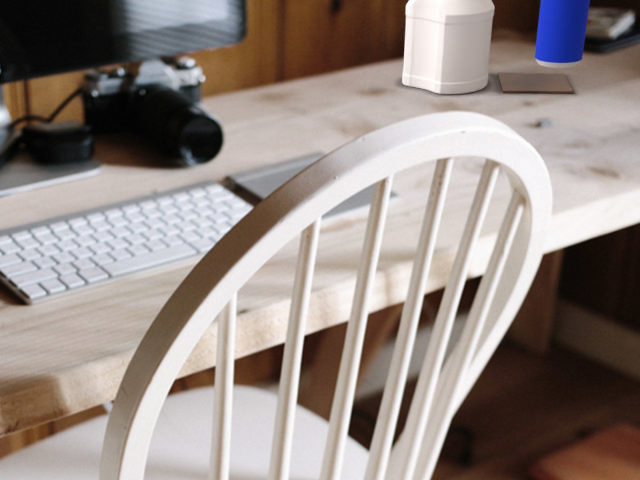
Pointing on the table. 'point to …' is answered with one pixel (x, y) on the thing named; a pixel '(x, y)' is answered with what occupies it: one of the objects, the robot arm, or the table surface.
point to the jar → (447, 45)
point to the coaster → (534, 83)
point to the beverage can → (561, 32)
